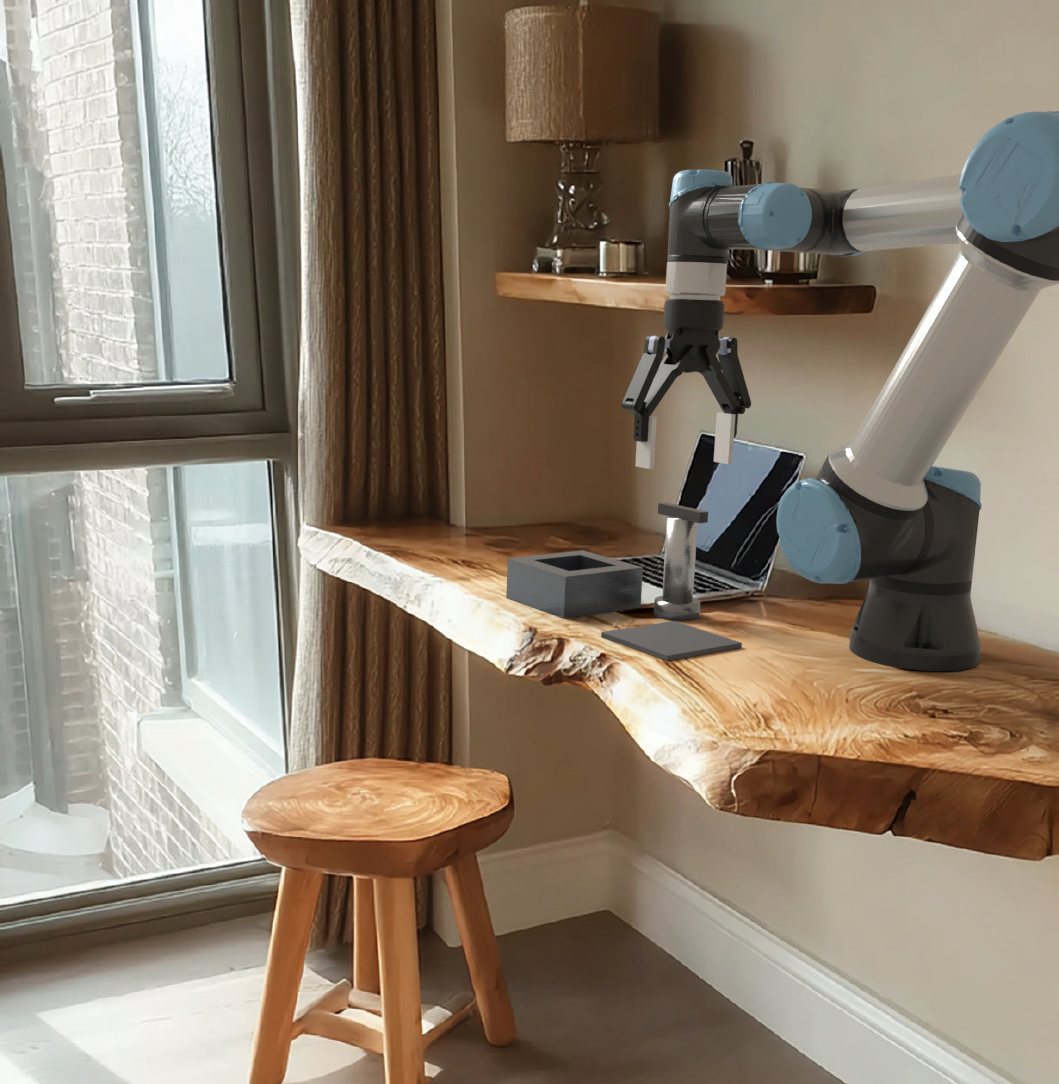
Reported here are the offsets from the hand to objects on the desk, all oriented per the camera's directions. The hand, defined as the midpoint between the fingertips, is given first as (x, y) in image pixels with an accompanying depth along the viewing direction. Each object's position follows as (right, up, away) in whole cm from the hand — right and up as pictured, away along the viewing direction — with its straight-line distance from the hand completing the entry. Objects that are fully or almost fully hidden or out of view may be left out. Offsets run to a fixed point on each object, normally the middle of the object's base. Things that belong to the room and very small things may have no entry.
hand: (684, 465), depth 167 cm
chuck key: (-1, -20, +4) cm, 20 cm away
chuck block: (-14, -18, +8) cm, 24 cm away
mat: (-3, -22, -10) cm, 24 cm away
